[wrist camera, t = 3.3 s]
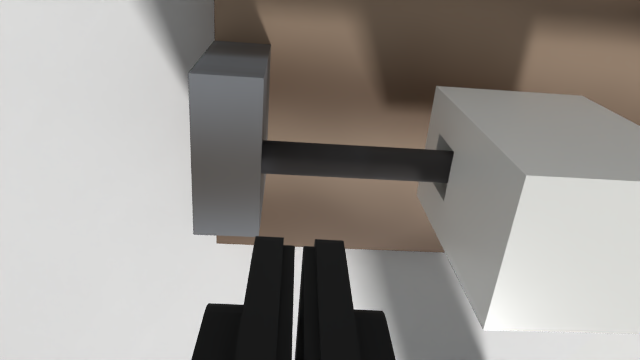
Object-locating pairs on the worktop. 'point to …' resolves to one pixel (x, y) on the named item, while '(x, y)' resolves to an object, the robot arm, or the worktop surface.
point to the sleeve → (538, 209)
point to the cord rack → (374, 104)
